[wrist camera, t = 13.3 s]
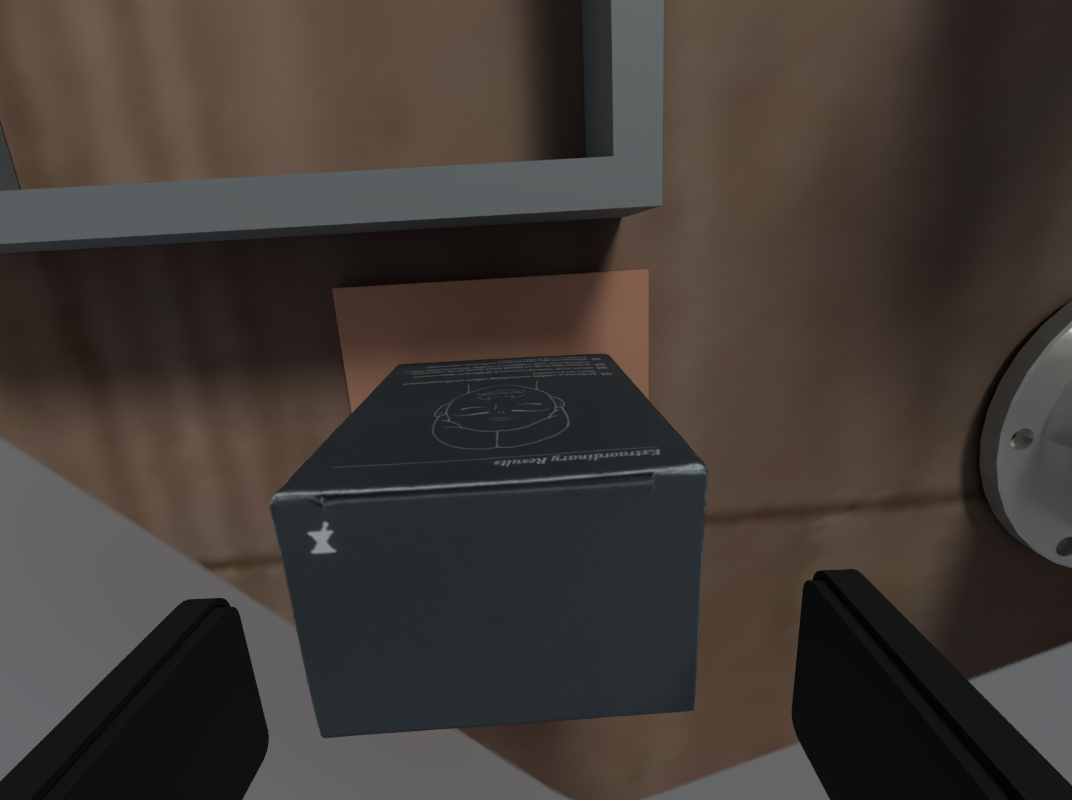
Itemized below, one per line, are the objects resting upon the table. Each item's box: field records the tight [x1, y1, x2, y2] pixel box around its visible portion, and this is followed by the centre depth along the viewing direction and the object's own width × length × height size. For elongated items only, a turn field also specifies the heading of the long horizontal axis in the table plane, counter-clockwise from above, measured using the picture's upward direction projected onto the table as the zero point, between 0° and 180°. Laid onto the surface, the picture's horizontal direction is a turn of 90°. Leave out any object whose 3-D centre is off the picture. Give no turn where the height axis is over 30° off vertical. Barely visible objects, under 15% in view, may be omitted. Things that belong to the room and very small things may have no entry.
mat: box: [332, 269, 649, 413], centre depth 20 cm, size 11×11×1 cm
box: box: [270, 354, 708, 738], centre depth 15 cm, size 8×6×11 cm
